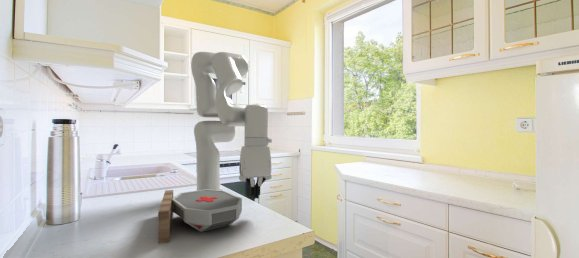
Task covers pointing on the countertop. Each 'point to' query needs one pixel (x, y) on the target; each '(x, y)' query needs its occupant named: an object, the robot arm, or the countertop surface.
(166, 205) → the walnut board
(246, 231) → the countertop surface
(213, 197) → the first aid kit
